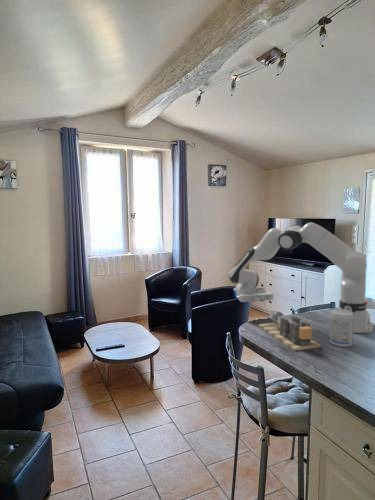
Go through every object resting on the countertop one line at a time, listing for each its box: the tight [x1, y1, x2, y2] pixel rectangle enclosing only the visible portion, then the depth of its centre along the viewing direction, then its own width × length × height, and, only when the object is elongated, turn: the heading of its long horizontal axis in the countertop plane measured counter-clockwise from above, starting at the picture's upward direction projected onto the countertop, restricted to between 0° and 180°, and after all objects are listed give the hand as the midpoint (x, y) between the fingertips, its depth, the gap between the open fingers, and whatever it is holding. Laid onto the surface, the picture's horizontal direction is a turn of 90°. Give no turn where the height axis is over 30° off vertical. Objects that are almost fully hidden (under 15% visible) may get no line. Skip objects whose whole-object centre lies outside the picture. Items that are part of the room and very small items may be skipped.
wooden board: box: [258, 315, 321, 351], centre depth 157 cm, size 33×13×10 cm, turn 14°
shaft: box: [268, 310, 299, 331], centre depth 160 cm, size 22×6×6 cm, turn 14°
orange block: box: [299, 326, 313, 340], centre depth 142 cm, size 3×5×5 cm, turn 104°
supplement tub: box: [329, 308, 354, 348], centre depth 146 cm, size 10×10×15 cm
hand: (261, 300), depth 181 cm, fingers closed
